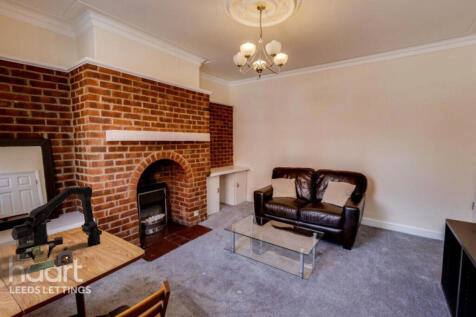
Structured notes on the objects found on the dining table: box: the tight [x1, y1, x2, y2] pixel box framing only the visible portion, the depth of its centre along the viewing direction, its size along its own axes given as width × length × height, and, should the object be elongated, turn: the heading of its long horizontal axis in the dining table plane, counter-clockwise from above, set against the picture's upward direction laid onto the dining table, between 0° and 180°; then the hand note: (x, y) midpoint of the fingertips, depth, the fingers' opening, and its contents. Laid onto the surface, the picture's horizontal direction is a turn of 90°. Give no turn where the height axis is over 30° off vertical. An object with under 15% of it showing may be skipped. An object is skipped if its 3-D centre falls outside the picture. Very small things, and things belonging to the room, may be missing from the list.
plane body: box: [57, 245, 74, 267], centre depth 125 cm, size 15×6×5 cm, turn 38°
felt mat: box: [28, 259, 55, 274], centre depth 118 cm, size 10×8×1 cm
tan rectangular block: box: [34, 250, 49, 264], centre depth 117 cm, size 7×5×3 cm
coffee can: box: [15, 234, 42, 262], centre depth 128 cm, size 10×10×14 cm
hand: (41, 259), depth 117 cm, fingers closed on tan rectangular block, 5 cm apart
